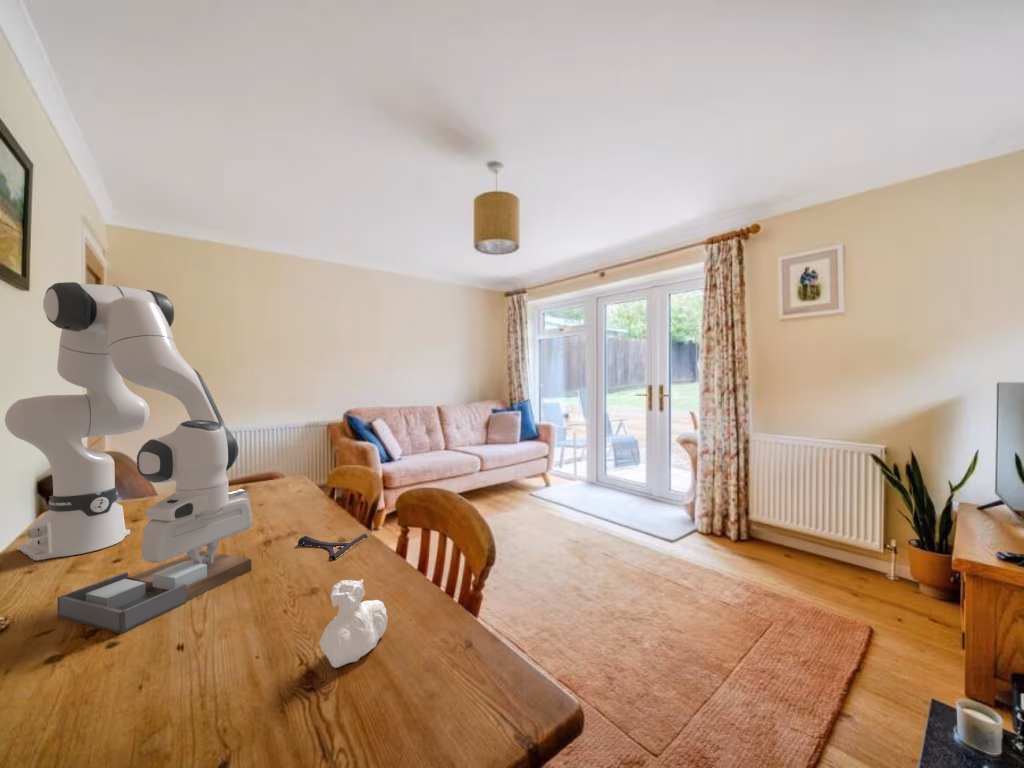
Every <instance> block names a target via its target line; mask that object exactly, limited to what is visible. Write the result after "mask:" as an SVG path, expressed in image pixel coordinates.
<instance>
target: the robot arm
mask: <svg viewBox="0 0 1024 768" xmlns="http://www.w3.org/2000/svg"><path fill="white" fill-rule="evenodd" d="M42 306H43V307H42V308H43V311H44V313H45V315H46V318H47V320H48V321H49V323H51V324H52V325H53V326H55V327H56V328H58V329H61V332H60V337H59V348H58V355H57V356H58V357H57V367H56V369H57V370H56V371H57V372H58V374H59V376H60V377H61V378H62V379H63V380H65V381H66V382H68V383H70V384H73V385H75V386H78V387H81V388H84V389H87V390H89V392H88V393H83V394H54V395H53V394H52V395H50V394H49V395H40V396H33V397H26V398H21V399H18V400H16V401H15V402H14V403H12V404H11V405H10V407H8V409H7V411H6V413H5V416H4V417H5V418H4V422H5V426H6V428H7V430H8V431H9V433H10V434H12V436H14V437H16V438H17V439H20V440H22V441H24V442H26V443H28V444H30V445H32V446H33V447H35V448H36V449H38V450H39V451H40V452H41V453H42V454H43V455H44V456H45V457H46V459H47V460H48V463H49V466H50V471H51V476H52V477H51V478H52V489H53V491H52V492H53V493H52V495H50V496H48V498H50V499H49V500H48V505H47V509H48V511H47V512H45V514H44V515H43V516H41V517H40V518H39V519H37V521H35V522H34V523H33V525H32V528H30V529H27V530H26V531H27V533H26V535H27V538H28V539H29V540H30V541H27V542H24V543H22V544H19V545H18V546H17V549H18V548H19V549H20V550H21V551H22V552H23V553H25V554H26V555H28V556H29V557H30V558H29V557H28V556H27V557H28V558H29V559H31V558H32V559H33V560H32V559H31V560H32V561H35V560H36V561H43V560H47V559H48V560H49V559H53V558H59V557H60V558H61V557H69V556H74V555H81V554H86V553H91V552H94V551H98V550H102V549H105V548H108V547H111V546H113V545H116V544H119V543H120V542H122V541H124V539H125V537H126V536H128V535H130V534H131V529H129V528H128V529H127V528H126V525H125V517H124V509H123V505H122V504H119V503H117V502H116V501H118V493H119V492H118V486H116V481H115V480H116V479H115V478H116V476H115V473H116V472H115V470H116V467H115V464H116V463H115V460H114V458H113V457H112V456H111V455H110V454H108V453H107V452H103V451H100V450H96V449H92V448H88V447H86V446H84V444H83V440H82V439H83V438H88V437H89V438H91V437H100V436H101V437H102V436H103V437H104V436H113V435H115V436H116V435H122V434H123V435H124V434H126V433H127V434H128V433H131V432H135V431H139V430H142V429H143V428H144V427H145V426H146V425H147V423H148V421H149V419H150V417H151V410H150V406H149V405H148V403H147V402H146V401H145V399H144V398H143V397H141V396H139V395H138V394H136V393H134V392H132V391H131V390H130V389H129V388H128V386H127V385H126V383H125V382H124V380H123V378H124V379H125V380H127V381H129V382H130V383H133V384H135V385H137V386H140V387H144V388H147V389H151V390H156V391H158V392H162V393H165V394H167V395H169V396H172V397H174V398H176V399H177V400H178V401H179V402H180V403H181V404H182V405H183V406H184V407H185V408H184V409H185V410H186V412H187V414H188V416H189V418H190V420H187V421H182V422H181V423H179V424H178V425H177V426H176V428H175V430H173V431H171V432H169V433H167V434H164V435H161V436H159V437H156V438H153V439H152V438H151V439H149V440H148V441H146V442H145V443H144V444H143V445H142V446H141V447H140V450H139V451H138V453H137V456H136V469H137V471H138V473H139V475H141V477H143V478H144V479H145V480H147V481H149V482H151V483H156V484H157V483H160V484H164V483H170V482H175V487H174V490H175V491H174V492H175V493H172V494H170V495H169V496H168V497H165V498H164V499H162V500H161V501H159V502H157V503H155V504H153V505H151V506H149V507H148V508H147V509H146V511H145V518H147V519H149V521H148V522H147V523H146V524H145V526H144V528H143V533H142V542H141V555H142V556H141V557H142V558H143V559H144V560H145V561H147V562H149V563H155V564H158V563H161V562H164V561H167V560H170V559H173V558H176V557H178V556H181V555H184V554H185V553H186V555H189V556H190V557H191V558H192V560H193V563H199V564H205V565H210V564H212V563H213V562H214V554H215V553H217V550H218V548H219V546H220V540H224V539H226V538H229V537H231V536H234V535H237V534H239V533H243V532H244V531H247V530H249V529H250V528H251V527H252V524H253V512H252V507H251V503H250V493H249V492H248V491H247V490H244V489H243V488H239V489H236V490H233V491H230V490H229V477H228V475H227V471H229V470H230V468H231V467H232V466H233V465H234V464H235V462H236V460H237V459H238V456H239V451H240V450H239V445H238V442H237V440H236V438H235V437H234V436H233V434H232V433H231V431H230V430H229V429H228V428H227V426H226V423H225V422H224V420H223V418H222V416H221V414H220V412H219V409H218V407H217V404H216V403H215V400H214V398H213V396H212V394H211V392H210V390H209V388H208V386H207V384H206V382H205V381H204V379H203V377H202V375H201V373H200V372H198V371H197V369H195V368H194V367H192V365H191V366H190V364H189V363H188V362H187V361H186V360H185V359H184V358H183V356H182V355H181V353H180V351H179V349H178V348H177V345H176V342H175V339H174V335H173V332H172V330H171V326H173V323H174V319H175V310H174V305H173V303H172V301H171V299H169V298H168V296H166V294H164V293H160V292H157V291H154V290H150V289H145V290H144V289H139V288H135V287H129V286H122V285H116V284H113V285H107V284H96V283H95V284H94V283H78V282H75V281H71V282H69V281H66V282H56V283H54V284H53V283H52V285H51V286H50V287H48V288H47V289H46V292H45V294H44V297H43V303H42ZM202 547H207V548H206V550H205V555H204V556H202V557H201V556H200V554H199V553H200V552H201V551H203V550H202ZM23 553H22V554H23ZM25 554H24V555H25ZM26 555H25V556H26Z"/></svg>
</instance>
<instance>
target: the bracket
mask: <svg viewBox="0 0 1024 768" xmlns="http://www.w3.org/2000/svg"><path fill="white" fill-rule="evenodd" d="M356 538H357V539H355V538H354V539H355V540H354V541H352V542H351V543H335V542H328V541H323V540H322V541H321V540H318V539H315V538H311V537H309V536H308V535H304V536H302V537H300V538H299V539H298V541H297V546H299V545H301V544H303V543H304V544H303V545H312V546H311V547H313V546H320V547H319V548H322V547H323V549H325V548H326V549H325V550H327V549H328V550H327V551H328V552H329V551H330V552H329V553H331V554H330V555H329V557H328V558H329V560H330V559H331V558H333V557H334V558H333V559H336V558H338V557H339V556H340V555H341V554H343V553H344V552H345V551H346V550H348V549H349V548H350V547H351V546H353V545H354V544H355V543H357V542H359V541H360V540H362V539H363V538H366V539H368V535H367V533H362V534H361V535H360V536H358V537H356ZM336 546H344V547H343V548H339V549H338V550H339V551H337V552H336V553H334V551H333V547H336ZM343 555H344V554H343ZM339 558H340V557H339ZM339 558H338V559H339ZM331 560H332V559H331ZM336 560H337V559H336Z"/></svg>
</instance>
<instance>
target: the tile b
mask: <svg viewBox="0 0 1024 768" xmlns="http://www.w3.org/2000/svg"><path fill="white" fill-rule="evenodd" d="M205 577H207V565H205V564H199V563H193V562H187V561H185V562H182V563H180V564H177V565H175V566H172V567H170V568H167V569H165V570H162V571H159V572H157V573H154V574H153V587H157V588H162V589H167V590H171V589H173V588H176V587H178V586H180V585H182V584H186V586H187V585H190V584H192V583H194V582H196V581H199V580H201V579H203V578H205Z"/></svg>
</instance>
